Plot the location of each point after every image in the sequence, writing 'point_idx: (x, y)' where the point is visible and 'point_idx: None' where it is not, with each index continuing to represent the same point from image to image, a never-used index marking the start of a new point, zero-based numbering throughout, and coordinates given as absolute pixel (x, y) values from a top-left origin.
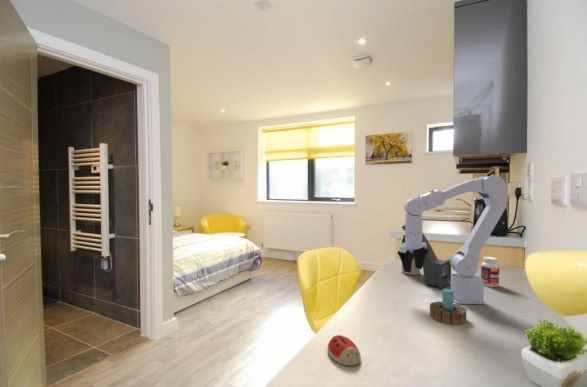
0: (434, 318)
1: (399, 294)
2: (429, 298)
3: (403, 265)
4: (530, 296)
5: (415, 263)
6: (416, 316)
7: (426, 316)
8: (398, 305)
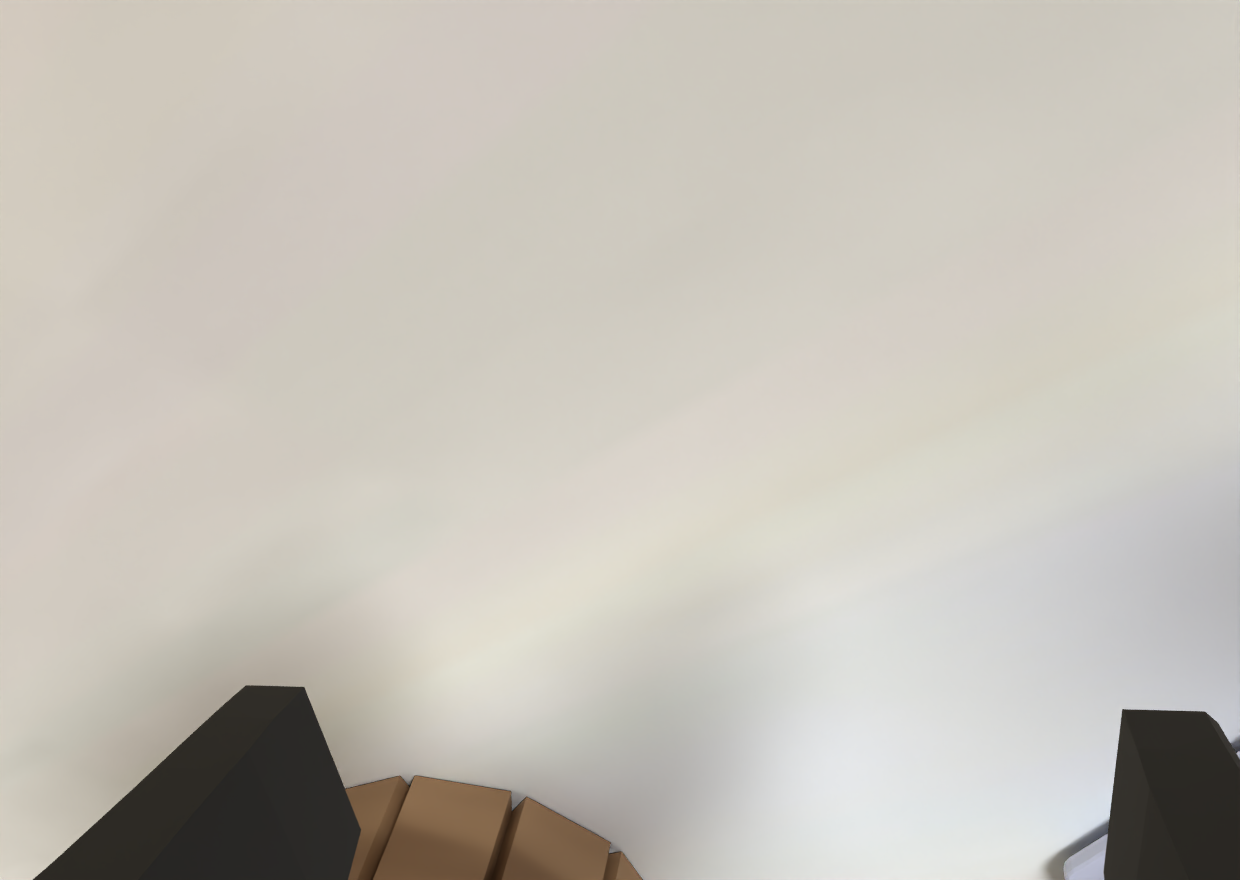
0: None
1: (597, 43)
2: (955, 534)
3: (88, 868)
4: None
5: (1178, 871)
6: (138, 725)
7: None
8: (137, 415)
